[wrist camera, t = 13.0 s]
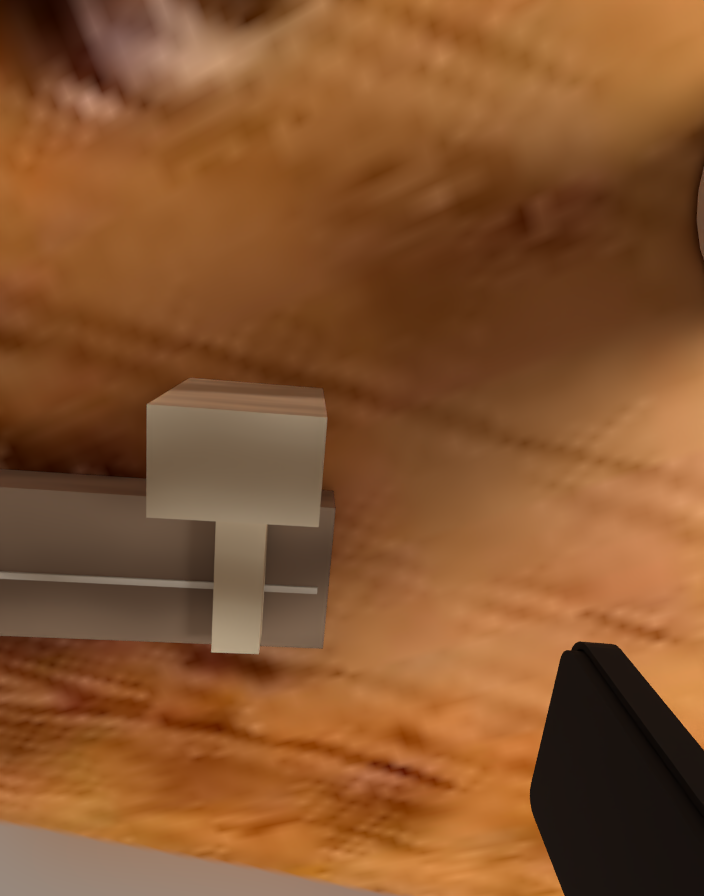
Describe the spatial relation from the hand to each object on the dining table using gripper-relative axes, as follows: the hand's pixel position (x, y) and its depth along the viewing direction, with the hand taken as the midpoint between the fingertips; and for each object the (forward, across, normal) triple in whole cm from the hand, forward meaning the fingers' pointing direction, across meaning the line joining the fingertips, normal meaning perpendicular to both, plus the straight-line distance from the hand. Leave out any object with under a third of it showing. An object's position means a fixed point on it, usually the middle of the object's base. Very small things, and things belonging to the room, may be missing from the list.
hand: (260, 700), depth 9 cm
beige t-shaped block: (+18, +2, +4) cm, 19 cm away
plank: (+18, +10, +7) cm, 22 cm away
